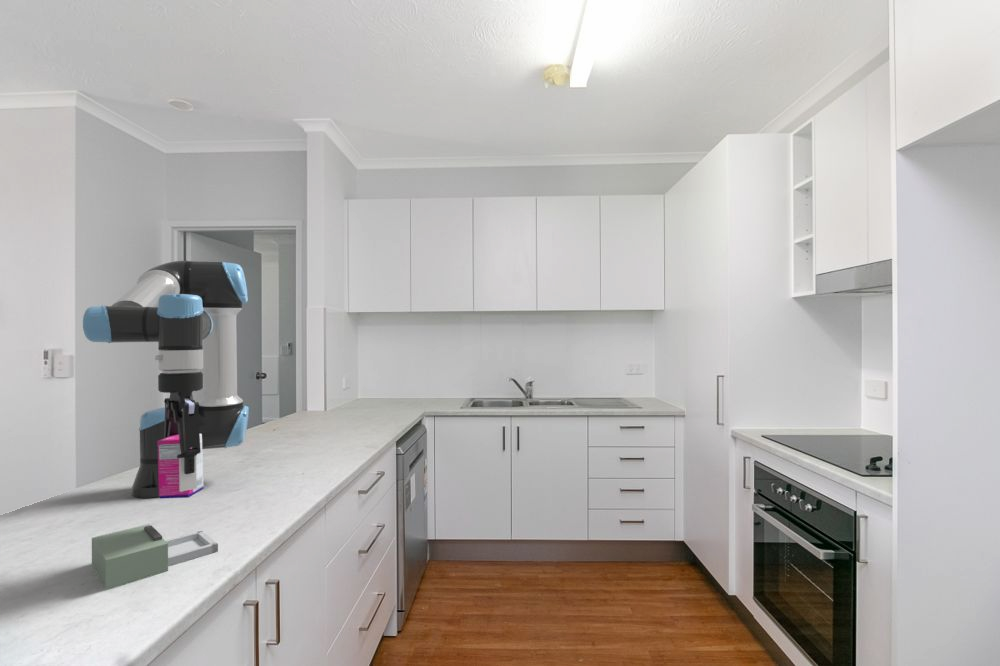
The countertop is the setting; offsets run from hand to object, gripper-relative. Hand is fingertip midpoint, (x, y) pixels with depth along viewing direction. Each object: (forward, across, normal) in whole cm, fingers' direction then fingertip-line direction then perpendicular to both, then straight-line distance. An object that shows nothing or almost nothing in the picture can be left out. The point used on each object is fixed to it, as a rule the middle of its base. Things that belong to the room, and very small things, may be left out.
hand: (181, 485), depth 98 cm
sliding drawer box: (+13, 0, -4) cm, 14 cm away
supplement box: (+2, 0, 0) cm, 2 cm away
